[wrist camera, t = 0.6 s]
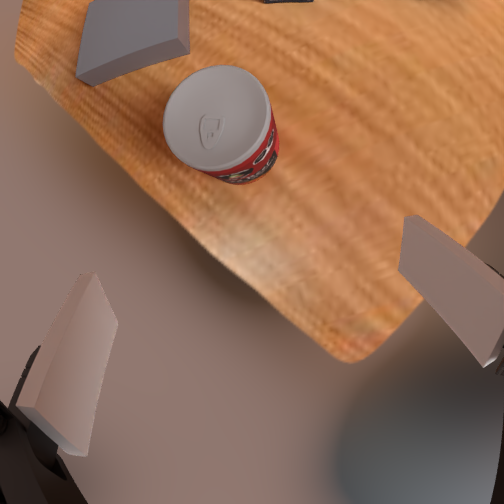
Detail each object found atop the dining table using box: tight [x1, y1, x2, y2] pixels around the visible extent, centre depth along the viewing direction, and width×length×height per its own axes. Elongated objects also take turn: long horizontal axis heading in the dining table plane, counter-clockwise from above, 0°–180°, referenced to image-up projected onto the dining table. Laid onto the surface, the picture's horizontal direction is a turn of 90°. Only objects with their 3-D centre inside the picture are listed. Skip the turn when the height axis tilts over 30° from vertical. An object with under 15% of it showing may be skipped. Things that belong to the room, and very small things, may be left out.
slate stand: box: [76, 0, 190, 87], centre depth 27 cm, size 14×14×4 cm
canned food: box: [163, 65, 279, 185], centre depth 24 cm, size 8×8×11 cm
